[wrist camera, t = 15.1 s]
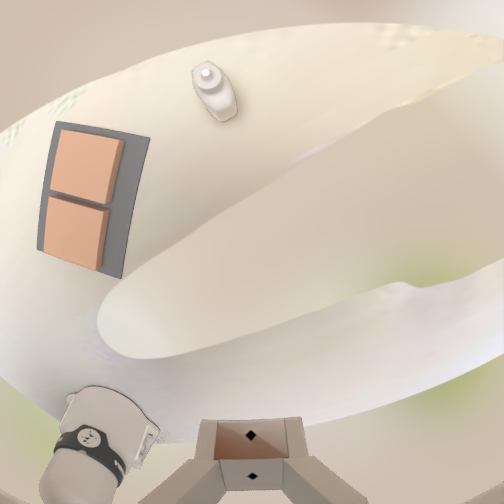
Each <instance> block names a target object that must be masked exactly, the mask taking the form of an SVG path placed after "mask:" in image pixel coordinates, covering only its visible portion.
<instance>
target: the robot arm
mask: <svg viewBox="0 0 504 504" xmlns="http://www.w3.org/2000/svg"><path fill="white" fill-rule="evenodd" d="M66 402H67V405H68V409H67V410H66V412H65V414H64V416H63V418H62V420H61V422H60V425H59V428H60V431H61V433H62V435H61V437H60V439H59V440H58V441H57V443H56V445H55V448H54V456H53V457H52V459H51V461H50V463H49V464H48V466H47V468H46V471H45V472H44V474H43V476H42V478H41V480H40V483H39V492H40V496H41V498H42V500H43V502H44V504H112V501H113V498H114V494H115V491H116V488H118V487H119V486H120V484H121V483H122V481H123V479H124V475H127V474H128V473H129V471H130V469H131V467H135V468H137V469H141V466H142V463H143V460H144V459H145V457H146V455H147V453H148V452H149V450H150V448H151V446H152V445H153V443H154V441H155V439H156V437H157V436H158V434H159V431H160V430H159V428H158V427H157V426H155V425H154V424H153V423H152V422H150V421H149V420H148V419H147V418H146V417H145V415H144V414H143V412H142V411H141V410H140V409H139V408H138V407H137V406H136V405H135V404H134V403H133V402H132V401H130V400H129V399H128V398H126V397H125V396H123V395H121V394H119V393H117V392H115V391H113V390H110V389H107V388H103V387H87V388H84V389H82V390H81V391H80V392H79V393H76V394H69V395H67V397H66ZM248 490H282V491H283V492H284V494H285V495H286V496H287V497H288V498H289V499H290V500H291V502H292V503H293V504H368V500H367V498H366V497H365V496H363V495H362V494H361V493H359V492H358V491H357V490H355V489H354V488H353V487H351V486H350V485H349V484H348V483H346V482H345V481H344V480H343V479H341V478H340V477H339V476H337V475H336V474H335V473H334V472H333V471H331V470H330V469H329V468H328V467H326V466H325V465H324V464H323V463H322V462H320V461H319V460H318V459H317V458H316V457H315V456H309V455H308V449H307V444H306V439H305V433H304V428H303V422H302V418H301V417H290V418H276V419H259V420H204V419H202V421H201V423H200V428H199V433H198V439H197V445H196V451H195V457H194V459H189V460H188V461H187V462H186V463H184V464H183V465H182V466H181V467H180V468H179V469H178V470H176V471H175V472H174V473H173V474H172V475H171V476H170V477H168V478H167V479H166V480H165V481H164V482H163V483H161V484H160V485H159V486H158V487H156V488H155V489H154V490H153V491H152V492H150V493H149V494H148V495H147V496H145V497H144V498H143V499H142V500H140V501H139V502H138V504H217V503H218V502H219V501H220V499H221V498H222V497H223V496H224V494H225V493H226V491H248ZM0 504H28V503H26V502H24V501H22V500H20V499H18V498H16V497H14V496H12V495H10V494H8V493H7V492H5V491H3V490H1V489H0ZM462 504H504V481H503V482H502V483H500V484H498V485H497V486H495V487H493V488H491V489H489V490H487V491H486V492H484V493H482V494H480V495H478V496H476V497H474V498H472V499H470V500H468V501H466V502H464V503H462Z"/></svg>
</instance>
